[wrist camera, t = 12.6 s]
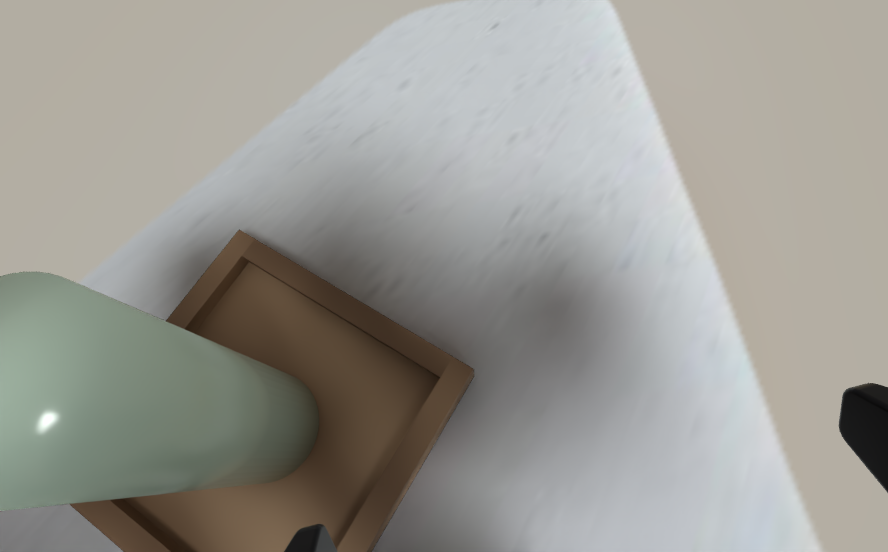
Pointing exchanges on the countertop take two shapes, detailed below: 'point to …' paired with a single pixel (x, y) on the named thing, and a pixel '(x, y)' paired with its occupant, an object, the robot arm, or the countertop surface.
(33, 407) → the sage cylinder
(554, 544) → the countertop surface
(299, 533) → the robot arm
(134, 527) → the walnut tray
